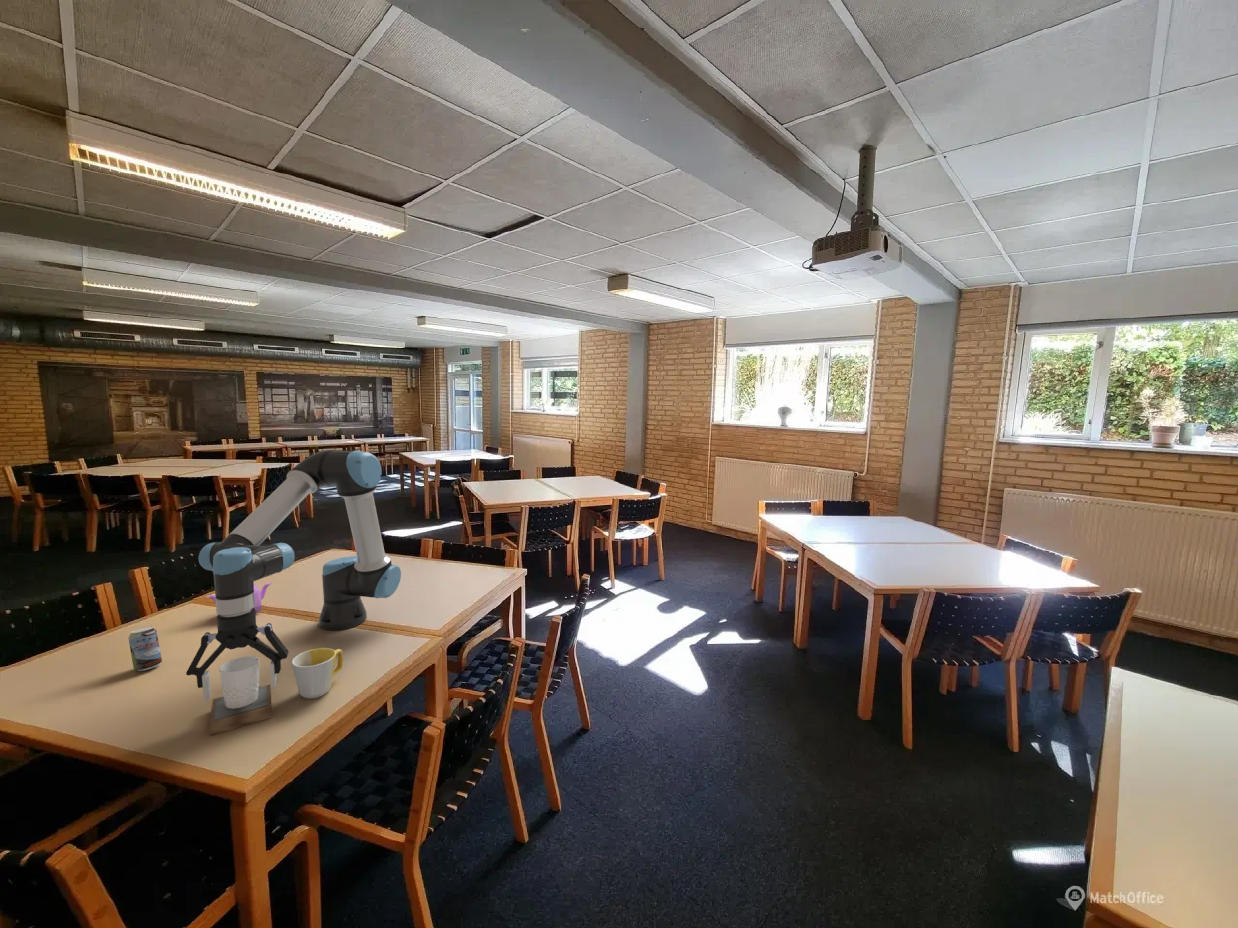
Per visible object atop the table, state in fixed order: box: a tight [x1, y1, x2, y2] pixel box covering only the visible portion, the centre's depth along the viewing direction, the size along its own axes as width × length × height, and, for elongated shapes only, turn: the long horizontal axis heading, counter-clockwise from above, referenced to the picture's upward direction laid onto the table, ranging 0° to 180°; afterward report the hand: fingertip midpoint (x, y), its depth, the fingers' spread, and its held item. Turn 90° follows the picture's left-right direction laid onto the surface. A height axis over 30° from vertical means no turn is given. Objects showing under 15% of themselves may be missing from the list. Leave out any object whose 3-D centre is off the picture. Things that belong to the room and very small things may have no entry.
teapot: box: [205, 582, 273, 615], centre depth 182 cm, size 15×13×11 cm
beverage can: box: [128, 625, 163, 672], centre depth 144 cm, size 6×7×12 cm
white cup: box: [219, 655, 260, 709], centre depth 123 cm, size 8×8×10 cm
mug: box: [291, 647, 344, 700], centre depth 135 cm, size 14×10×10 cm
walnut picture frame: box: [209, 684, 273, 736], centre depth 124 cm, size 12×12×3 cm
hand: (241, 691), depth 124 cm, fingers open, 13 cm apart
